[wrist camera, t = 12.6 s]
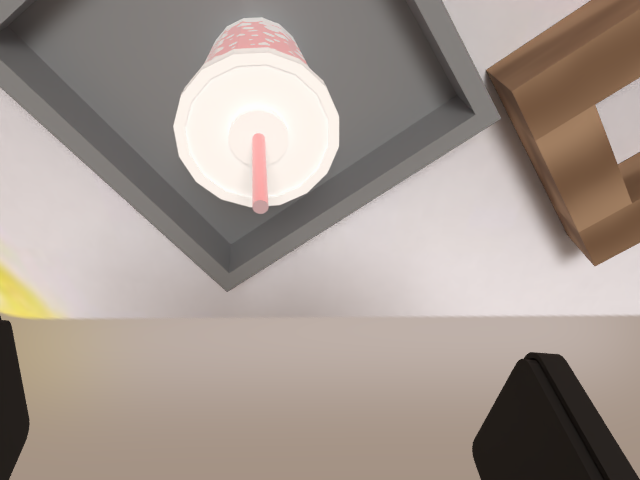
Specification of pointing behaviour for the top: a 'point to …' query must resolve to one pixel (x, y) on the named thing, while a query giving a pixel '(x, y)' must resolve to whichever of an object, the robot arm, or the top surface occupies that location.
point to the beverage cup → (256, 119)
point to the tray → (185, 61)
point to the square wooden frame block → (579, 121)
